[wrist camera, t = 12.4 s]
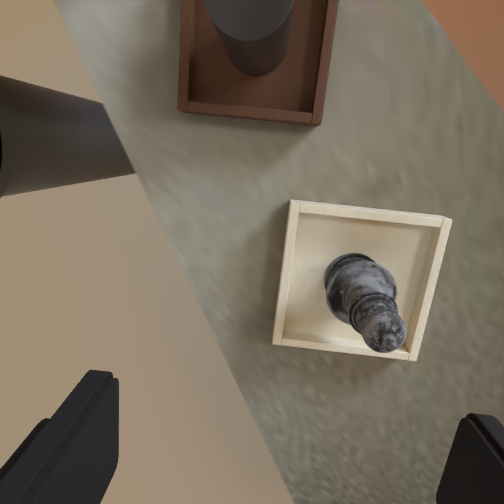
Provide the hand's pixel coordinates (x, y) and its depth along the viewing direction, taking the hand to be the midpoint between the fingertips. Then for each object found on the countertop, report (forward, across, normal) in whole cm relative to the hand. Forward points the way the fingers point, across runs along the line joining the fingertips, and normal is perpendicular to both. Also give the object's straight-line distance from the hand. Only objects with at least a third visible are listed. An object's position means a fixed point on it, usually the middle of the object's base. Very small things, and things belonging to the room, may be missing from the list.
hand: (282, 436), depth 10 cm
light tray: (+24, -8, +4) cm, 26 cm away
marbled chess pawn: (+24, -8, +4) cm, 26 cm away
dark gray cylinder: (+24, +3, -15) cm, 29 cm away
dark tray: (+25, +3, -15) cm, 29 cm away
